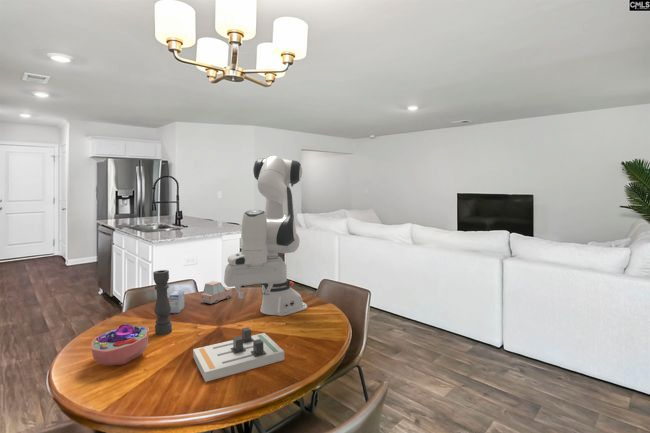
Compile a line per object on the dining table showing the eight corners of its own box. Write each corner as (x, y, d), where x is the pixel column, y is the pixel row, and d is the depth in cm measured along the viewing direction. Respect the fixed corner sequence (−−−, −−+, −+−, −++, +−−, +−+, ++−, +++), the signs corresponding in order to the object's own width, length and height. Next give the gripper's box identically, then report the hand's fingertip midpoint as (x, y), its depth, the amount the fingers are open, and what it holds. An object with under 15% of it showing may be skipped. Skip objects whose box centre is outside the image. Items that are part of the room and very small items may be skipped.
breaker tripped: (242, 346, 122) (241, 334, 122) (245, 350, 119) (245, 339, 119) (230, 348, 120) (230, 337, 120) (234, 353, 117) (233, 341, 116)
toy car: (234, 297, 188) (234, 279, 187) (212, 306, 174) (212, 286, 174) (221, 295, 192) (221, 277, 191) (199, 303, 179) (198, 284, 178)
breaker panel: (264, 340, 134) (264, 332, 134) (284, 359, 119) (284, 351, 119) (193, 357, 121) (193, 349, 120) (205, 381, 105) (204, 372, 105)
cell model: (76, 375, 110) (73, 340, 109) (116, 346, 130) (115, 316, 129) (128, 376, 109) (126, 341, 108) (161, 347, 129) (160, 317, 128)
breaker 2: (261, 349, 120) (261, 337, 119) (266, 353, 116) (266, 342, 116) (250, 352, 118) (250, 340, 117) (254, 356, 114) (254, 345, 114)
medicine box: (175, 307, 172) (174, 290, 171) (184, 307, 172) (184, 290, 172) (169, 313, 164) (169, 295, 163) (179, 313, 165) (178, 295, 164)
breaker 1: (250, 336, 130) (249, 326, 130) (253, 340, 127) (253, 329, 126) (239, 339, 128) (239, 328, 128) (243, 343, 124) (242, 332, 124)
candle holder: (165, 336, 139) (162, 273, 137) (151, 334, 140) (148, 273, 138) (175, 329, 145) (172, 270, 143) (161, 328, 146) (159, 269, 144)
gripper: (279, 253, 129) (279, 290, 130) (223, 257, 120) (223, 297, 120) (285, 256, 124) (285, 294, 125) (227, 260, 114) (227, 302, 115)
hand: (254, 296), depth 122 cm, fingers open, 8 cm apart
